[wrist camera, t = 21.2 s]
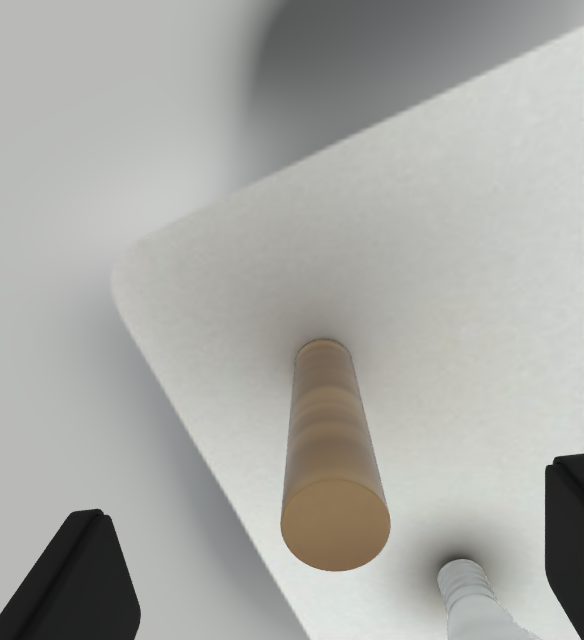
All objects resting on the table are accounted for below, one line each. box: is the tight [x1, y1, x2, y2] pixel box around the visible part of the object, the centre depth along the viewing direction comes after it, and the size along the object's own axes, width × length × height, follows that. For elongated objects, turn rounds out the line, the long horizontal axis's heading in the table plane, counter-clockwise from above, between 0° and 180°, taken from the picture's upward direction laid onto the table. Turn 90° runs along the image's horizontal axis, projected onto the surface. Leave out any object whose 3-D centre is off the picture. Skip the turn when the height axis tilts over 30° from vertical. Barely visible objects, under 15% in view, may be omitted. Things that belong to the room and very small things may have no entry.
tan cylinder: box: [281, 339, 390, 571], centre depth 19 cm, size 3×3×12 cm
